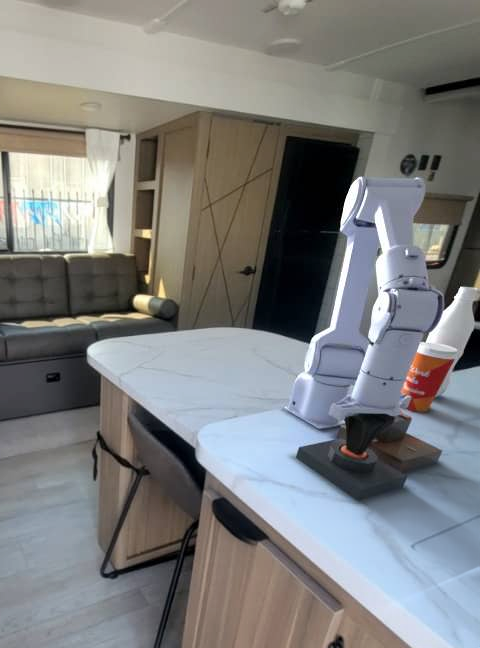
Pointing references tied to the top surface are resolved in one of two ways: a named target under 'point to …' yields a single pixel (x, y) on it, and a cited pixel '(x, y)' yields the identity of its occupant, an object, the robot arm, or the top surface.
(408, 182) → the robot arm
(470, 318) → the water bottle
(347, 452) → the orange push button
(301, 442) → the top surface
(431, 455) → the panel
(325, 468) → the grey button base plate
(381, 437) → the lock knob
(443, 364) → the paper cup
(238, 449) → the top surface
